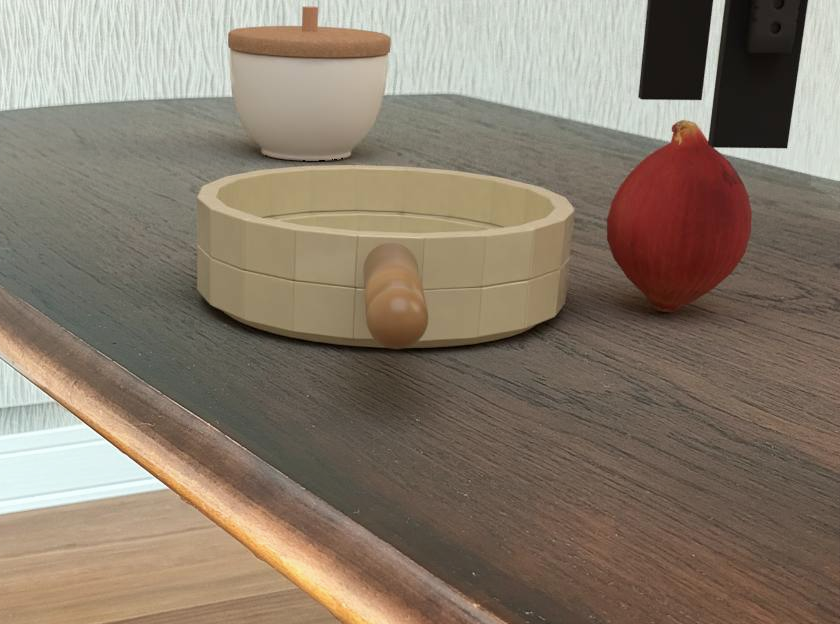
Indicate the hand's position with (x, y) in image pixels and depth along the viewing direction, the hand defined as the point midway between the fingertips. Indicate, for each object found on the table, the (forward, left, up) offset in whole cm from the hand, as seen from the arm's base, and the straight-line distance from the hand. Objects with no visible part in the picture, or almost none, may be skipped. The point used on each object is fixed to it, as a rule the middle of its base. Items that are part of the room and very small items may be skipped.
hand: (704, 121), depth 59 cm
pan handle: (+13, +12, -5) cm, 19 cm away
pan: (+13, 0, -8) cm, 15 cm away
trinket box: (+17, -39, -8) cm, 43 cm away
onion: (0, 0, -8) cm, 8 cm away
